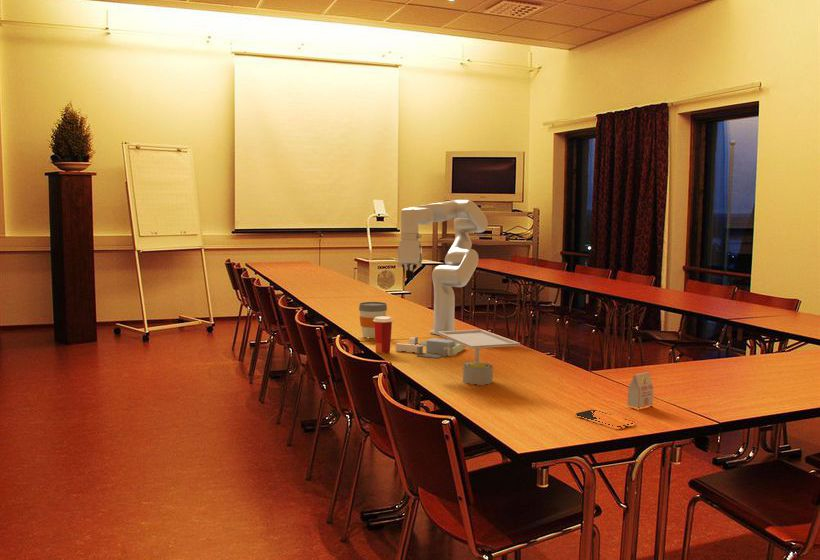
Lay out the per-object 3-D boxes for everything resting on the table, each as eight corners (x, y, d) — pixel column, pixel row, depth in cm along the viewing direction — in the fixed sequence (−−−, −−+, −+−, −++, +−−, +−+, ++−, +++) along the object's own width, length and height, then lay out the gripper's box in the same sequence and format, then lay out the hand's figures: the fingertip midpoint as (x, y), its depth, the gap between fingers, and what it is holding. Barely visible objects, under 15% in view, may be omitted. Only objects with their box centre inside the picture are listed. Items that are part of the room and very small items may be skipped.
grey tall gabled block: (627, 407, 208) (628, 373, 207) (641, 404, 212) (643, 371, 211) (638, 410, 205) (639, 376, 204) (652, 407, 209) (654, 373, 208)
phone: (593, 409, 203) (636, 422, 191) (593, 413, 203) (636, 426, 191) (573, 413, 198) (617, 427, 186) (573, 417, 199) (617, 431, 186)
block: (433, 350, 291) (433, 338, 290) (455, 353, 286) (455, 340, 285) (426, 352, 286) (426, 340, 285) (448, 355, 281) (448, 343, 280)
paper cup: (393, 350, 288) (393, 316, 287) (391, 354, 281) (391, 319, 280) (374, 350, 289) (374, 315, 288) (371, 353, 282) (371, 318, 280)
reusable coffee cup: (386, 339, 313) (386, 305, 312) (357, 339, 313) (357, 305, 312) (387, 334, 326) (387, 301, 324) (360, 334, 326) (360, 301, 324)
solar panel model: (436, 374, 248) (436, 331, 246) (481, 370, 254) (481, 329, 252) (470, 393, 222) (471, 345, 221) (519, 389, 228) (520, 342, 226)
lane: (415, 341, 308) (415, 335, 308) (469, 346, 299) (469, 339, 299) (389, 354, 281) (389, 346, 281) (447, 359, 273) (447, 351, 272)
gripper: (429, 237, 307) (428, 279, 309) (396, 236, 312) (396, 278, 314) (423, 238, 300) (423, 281, 302) (390, 237, 305) (390, 280, 307)
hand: (409, 279), depth 308 cm, fingers closed
